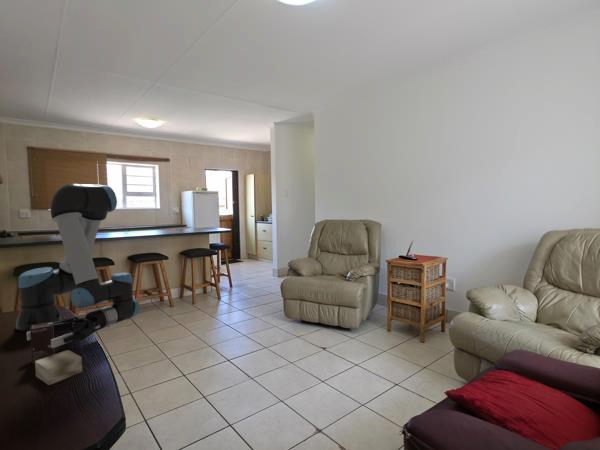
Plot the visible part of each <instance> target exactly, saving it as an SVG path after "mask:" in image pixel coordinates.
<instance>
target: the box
mask: <svg viewBox="0 0 600 450" xmlns="http://www.w3.org/2000/svg"><path fill="white" fill-rule="evenodd" d="M30 336H31V340H30V350H31V351H30V352H31V364H32V365H35V361H37V360H40V359H43V358H46V357H48V356H51V355H54V354H56V349H55V348H56V347H55V348H51V339H54V338H55V331H54V323H53V322H48V323H41V324H36V325H31V329H30Z"/></svg>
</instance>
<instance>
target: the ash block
mask: <svg viewBox="0 0 600 450" xmlns="http://www.w3.org/2000/svg"><path fill="white" fill-rule="evenodd" d="M34 365H35V366H34V367H35V377H36V378H38V379H39V380H41V381H42V382H44V383H45V384H46V385H48V386H50V385H53V384H56V383H58V382H60V381H62V380H65V379H67V378H70V377H73V376H75V375H78V374H80V373H83V360H82V356H80V355H79V354H77V353H75V352H73V351H72V350H69V349H67V350H66V349H65V350H63V351H61V352H58V353H55V354H54V355H51V356H48V357H46V358H43V359H40V360H37V361H35V364H34Z"/></svg>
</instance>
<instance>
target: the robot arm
mask: <svg viewBox="0 0 600 450" xmlns="http://www.w3.org/2000/svg"><path fill="white" fill-rule="evenodd" d="M117 205H118V199H117V196H116V193H115V191H114V189H113V188H112V187H111V186H109V185H105V184H99V183H97V184H91V183H90V184H87V183H84V184H83V183H70V184H69V183H68V184H64V185H63V186H61V187H60V188H59V189H57V190H56V192H55V193H54V194H53V196H52V198H51V201H50V217H51V220H52V221H53V222H54V223H56V224H57V228H58V232H59V235H60V237H61V240H62V244H63V248H64V251H65V255H66V256H65V259H63V260H62V261H60V263H59V266H58V268H54V269H53V267H51V266H44V267H38V268H33V269H30V270H27V271H23V273H21V274H20V275H19V276H18V284H17V288H18V293H19V294H18V295H19V306H20V310H19V312H18V316H17V319H16V322H15V329H16V330H17V331H20V332H26V340H27V341H31V336H30V329H31V325H36V324H41V323H48V322H53V323H54V332H59V331H67V330H70V331H73V332H69V333H65V334H63V335H61V336H57V337H54V339H51V348H57V347H59V346H63V345H65V344H68V343H70V342H73V341H78V340H79V341H81V342H82V341H84V340H86V339H87V338H88V337H89V336H91V335H93V334H94V333H95V332H98V331H99V330H100V331H101V330H102V329H104V328H110V327H111V326H112V325H115V324H118V323H121V322H123V321H127V320H130V319H131V318H133V317H136V316H137V315H139V313H140V311H141V305H140V302H139V301H138V299H136V298H133V297H134V296H133V277H132V274H131V273H130V272H124V271H122V272H116V273H114V274H113V273H112V274H111V275H110V280H107V281H103V282H100V280H99V277H98V273H97V270H96V267H95V263H94V260H93V256H92V250H93V246H94V243H95V241H96V239H97V234H98V231H99V228H100V224H101V222H102V221H104V220H106V219H107V216H108V213H112V212H113V211H115V210H116V208H117ZM65 294H70V301H71V304H72V305H73V306H74V308H76V309H82V308H88V307H93V306H95V305H97V304H101V303H105V302H108V301H111V302H112V304H111V305H107V306H104V307H101V308H99V309H95V310H91V311H89V312H88V313H87V314H86V315H85V317H81V318H79V316H75V317H72V318H67V319H62V316H61V313H60V311H59V309H58V307H57V304H56V297H57V296H62V295H65Z"/></svg>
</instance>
